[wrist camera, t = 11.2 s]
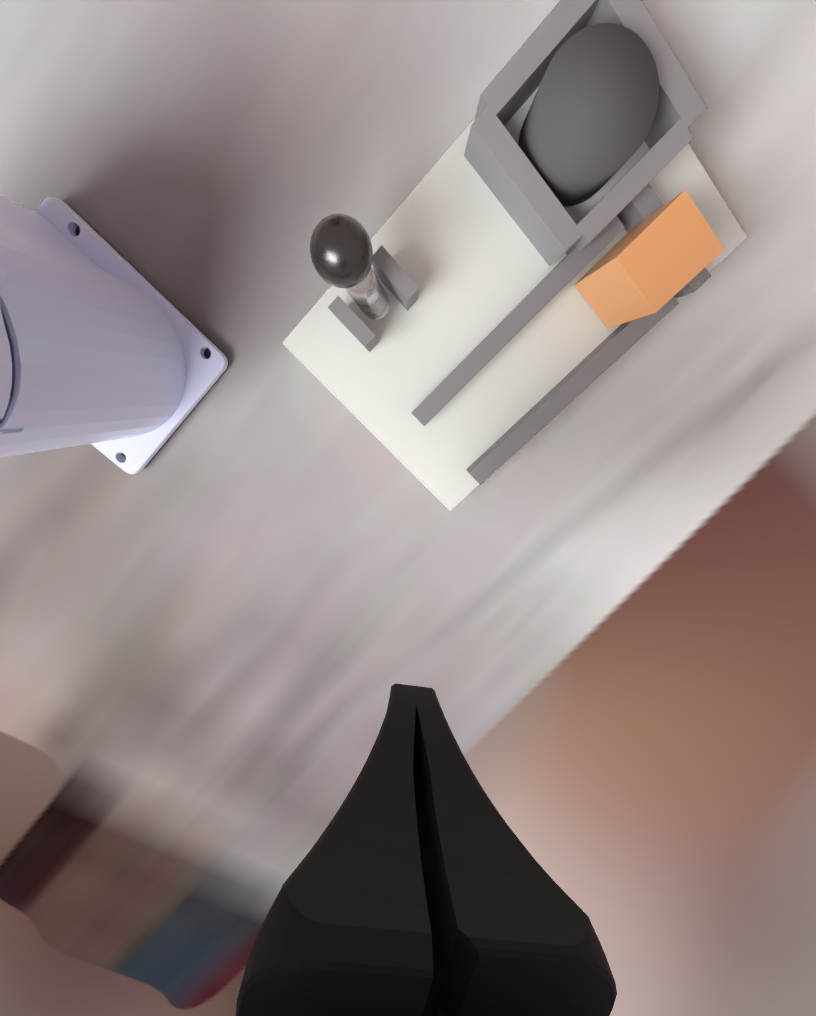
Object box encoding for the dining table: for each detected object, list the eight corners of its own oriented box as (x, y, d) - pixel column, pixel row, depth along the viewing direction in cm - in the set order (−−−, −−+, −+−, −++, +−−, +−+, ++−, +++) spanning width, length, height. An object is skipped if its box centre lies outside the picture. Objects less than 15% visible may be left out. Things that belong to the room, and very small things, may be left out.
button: (497, 146, 15) (513, 100, 13) (578, 53, 14) (611, -13, 12) (560, 230, 16) (586, 202, 14) (640, 147, 15) (682, 103, 13)
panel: (291, 347, 19) (266, 336, 15) (571, 23, 15) (618, -83, 12) (446, 503, 21) (454, 523, 17) (719, 250, 18) (794, 216, 14)
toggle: (348, 313, 17) (286, 237, 12) (380, 276, 16) (329, 183, 11) (378, 344, 16) (327, 280, 12) (412, 307, 16) (373, 226, 11)
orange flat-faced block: (574, 284, 16) (616, 257, 13) (627, 231, 16) (685, 189, 13) (607, 328, 17) (656, 312, 14) (660, 278, 16) (724, 249, 13)
